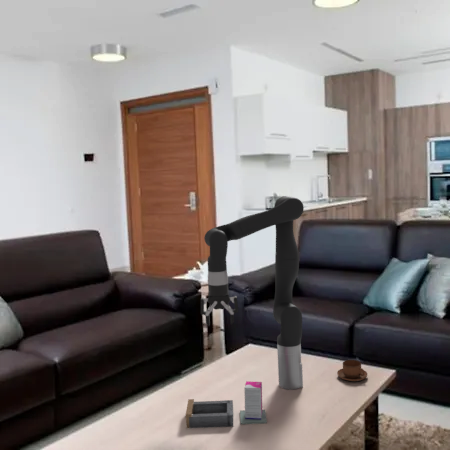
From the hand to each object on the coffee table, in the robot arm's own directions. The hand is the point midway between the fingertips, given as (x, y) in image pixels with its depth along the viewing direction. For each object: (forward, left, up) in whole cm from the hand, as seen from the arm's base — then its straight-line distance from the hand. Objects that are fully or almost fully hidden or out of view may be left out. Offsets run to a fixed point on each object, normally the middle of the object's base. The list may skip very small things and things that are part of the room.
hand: (220, 324), depth 198 cm
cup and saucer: (-52, -14, -29) cm, 61 cm away
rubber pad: (-11, +17, -29) cm, 35 cm away
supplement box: (-11, +17, -28) cm, 35 cm away
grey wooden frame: (+4, +17, -29) cm, 34 cm away
